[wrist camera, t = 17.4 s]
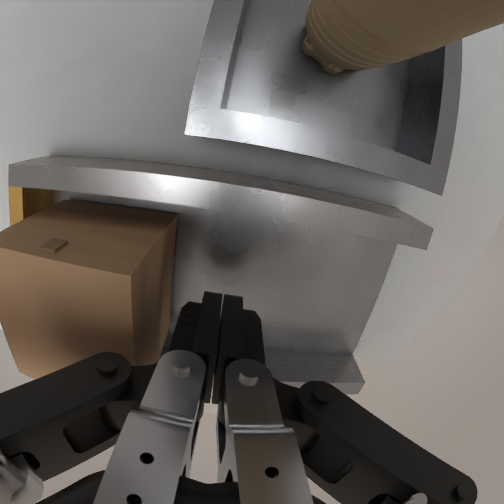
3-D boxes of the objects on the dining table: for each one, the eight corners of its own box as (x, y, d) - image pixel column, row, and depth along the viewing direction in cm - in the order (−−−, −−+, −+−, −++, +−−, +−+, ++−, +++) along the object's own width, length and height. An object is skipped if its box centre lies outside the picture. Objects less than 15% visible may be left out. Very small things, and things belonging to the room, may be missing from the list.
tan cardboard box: (64, 197, 12) (-19, 239, 6) (178, 212, 12) (130, 272, 7) (72, 304, 14) (20, 373, 8) (170, 326, 15) (143, 415, 9)
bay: (49, 155, 12) (8, 164, 9) (397, 208, 14) (433, 228, 11) (59, 311, 16) (34, 342, 12) (342, 355, 18) (358, 393, 14)
